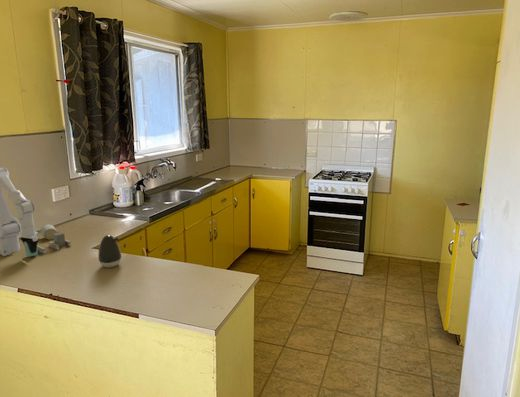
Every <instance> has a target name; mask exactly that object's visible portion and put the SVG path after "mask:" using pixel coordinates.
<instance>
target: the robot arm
mask: <svg viewBox="0 0 520 397" xmlns="http://www.w3.org/2000/svg"><path fill="white" fill-rule="evenodd" d="M2 188H3V189H4V190H5V191H6V192H7V193H8V195H7V197H8V199H9V201H10V202H11V203H12V204H13V205H14V206H15V209H14V210H15V213H16V214H17V218H16V217H14V216H12V215H11V212H10V209H9V206H8V204H7V201H6V199H5V195H4V192H3V190H2ZM34 211H35V205H34V203H33V202H32V201H31V200H29V199H27V198H26V197H25V195H24V194H23V193H22V192H21V191H20V190H19V189H16V187H15V186H14V184H13V183H12V181H11V179H10V172H9V170H8V169H7V168H6V166H2V167H0V255H1V256H2V257H6V256H10V255H13V253H15V252H19V251H20V250H21V245H20V241H21V242H22V244H24V242H26V243H27V244H28V246H29V249H30V252H31V253H35V252H36V249H37V245H38V243H39V241H40V238H38V236H37V235H39V232H38V231H36V228H35V227H36V226H35V220H34V215H33V212H34ZM18 219H19V221H18ZM19 222H20V223H19ZM19 235H21V237H20V240H19Z"/></svg>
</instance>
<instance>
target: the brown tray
mask: <svg viewBox="0 0 520 397" xmlns="http://www.w3.org/2000/svg"><path fill="white" fill-rule="evenodd" d="M65 244H66V246H64V247H60V248H59V246H58V245H57V244H55V243H54V241H50V240H49V241H48V246H46V247H42V246H40V245H39V244H37V251H38V253H41V254H43V255H45V254H49V253H52V252H55V251H56V252H57V251H59V250H62V249H66V248H69V247H72V240H68V239H66V238H65Z"/></svg>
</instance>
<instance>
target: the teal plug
mask: <svg viewBox="0 0 520 397" xmlns="http://www.w3.org/2000/svg"><path fill="white" fill-rule="evenodd" d="M23 245H24V250H25V255H26V256H28V257H29V258H30V257H33V256H37V255H38V254H39V251H37V249H36V252H35V253H31V252H30V249H29V246H28V244H27V243H26V242H24V243H23Z"/></svg>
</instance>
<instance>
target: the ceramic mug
mask: <svg viewBox="0 0 520 397" xmlns="http://www.w3.org/2000/svg"><path fill="white" fill-rule="evenodd" d="M59 232H60V231H57V229H56V228H55V226H54V225H52V224H44V225H43V226H42V227H41V229H40V235H41V236H42V237H43V238H44V239H45V240H48V241H50V240H54V238H53V234H55V233H59Z"/></svg>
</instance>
